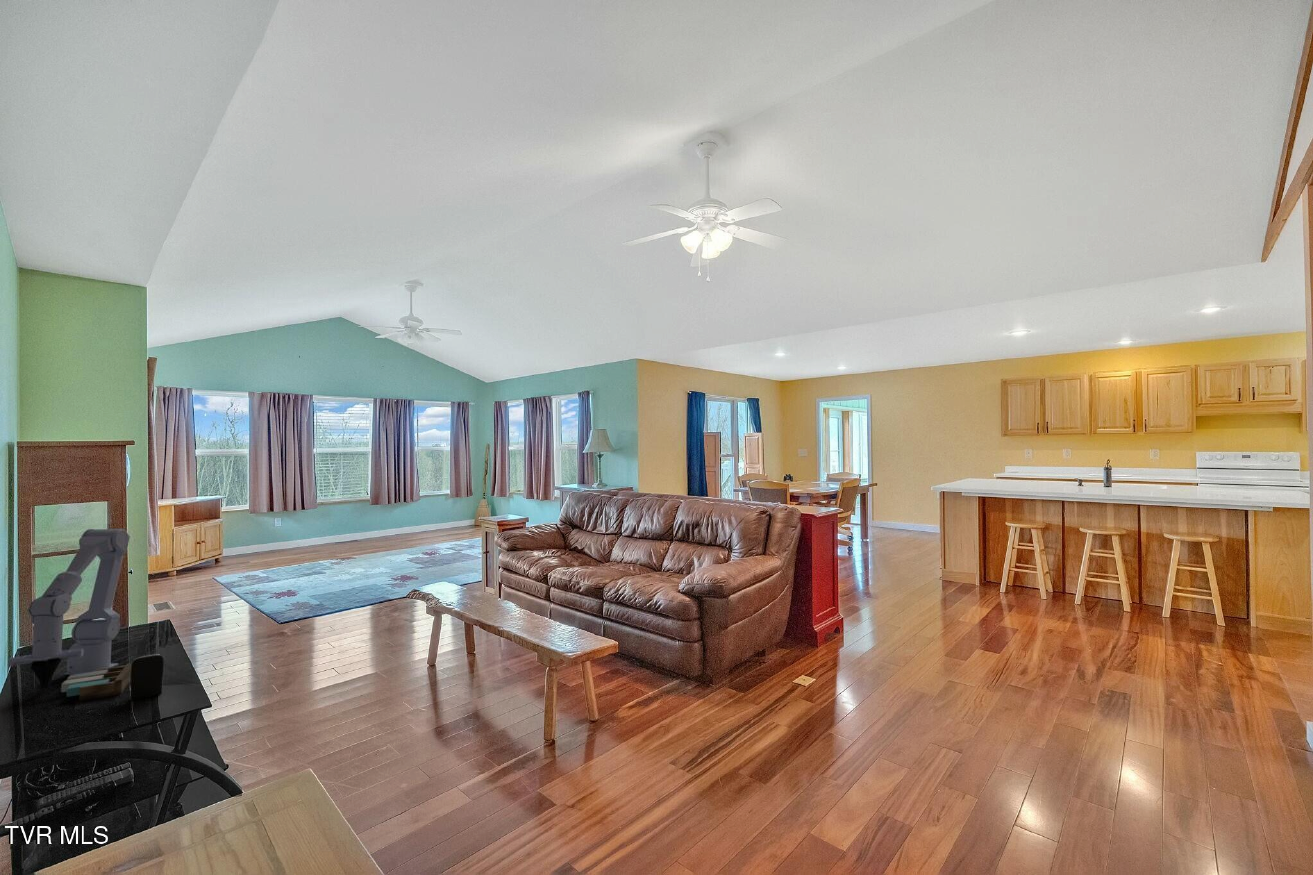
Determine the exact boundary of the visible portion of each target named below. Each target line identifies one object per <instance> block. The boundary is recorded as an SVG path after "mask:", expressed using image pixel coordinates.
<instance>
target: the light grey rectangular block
mask: <svg viewBox="0 0 1313 875" xmlns="http://www.w3.org/2000/svg"><path fill="white" fill-rule="evenodd" d="M102 673H108V670H101V671H94V672H88V673H81V674H69V676H68V677H67V679H66V680H73V679H80V678H86V677H90V676H91V675H96V674H102Z"/></svg>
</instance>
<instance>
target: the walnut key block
mask: <svg viewBox="0 0 1313 875" xmlns="http://www.w3.org/2000/svg"><path fill="white" fill-rule="evenodd" d="M131 663H132V662H128V663H126V664H125V665H117V666H114V667H110V668H104V669H97V670H95V671H101V670H108V673H102V674H96V675H91V676H90V677H93V676H99V675H104V678H102V679H95V680H89V681H85V683H86V682H93V681H99V680H106V679H110V682H108V683H101V684H95V685H89V686H82V687H80V695H78V696H79V698H78V699H79V701H86V700H93V699H98V698H104V697H110V696H116V695H121V694H122V693H124V691H125V689H126V687H127V686H128V685H129V683H130V671H131Z"/></svg>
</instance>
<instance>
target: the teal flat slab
mask: <svg viewBox="0 0 1313 875" xmlns="http://www.w3.org/2000/svg"><path fill="white" fill-rule="evenodd" d="M108 682H110V679H106V680H99V681H93V682H86V683H80V684H73V685H70V686H69V687H68V688H67V692H66V697H67V698H69V697H75V696H80V687H82V686H89V685H95V684H101V683H108Z"/></svg>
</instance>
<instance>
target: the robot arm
mask: <svg viewBox="0 0 1313 875" xmlns="http://www.w3.org/2000/svg"><path fill="white" fill-rule="evenodd" d="M130 538H131V536H130V535H129V533H128V531H127V530H126V529H125V528H107V529H105V528H102V529H101V528H100V529H99V528H98V529H97V528H95V529H94V528H88V529H85V531H84V532H83V533H82V535H81V537H80V538H79V540H78V544H79V549H78V550H77V552H76V553H75V555H74V557H73V559H72V561H71V562H70V564H69V565H68V567H67V569H66V570H65V571H63V572H61V573H58V574H57V575H56V576H55V578H54V579H53V580H52V582H51V583H50V585H49V586H48V587H47V589H46V590H45V591H44V593H43V594H42V595H41V596H39V597H37V598H35V599H33V600H32V601H31V602H30V604H29V607H28V608H27V615H29V617H30V623H31V624H32V625H33V631H32V632H33V633H32V650H31V651H32V652H31V654H27V655H21V656H14V657H11V658H9V659H8V662H7V667H8V668H9V667H15V666H19V665H28V664H31V666H30V669H31V670H32V672H33V673H34V674H35V676H36V678H37V680H38V682H39V686H40V689H44V688H45V689H46V688H49V687H50V686H51V682H52V679H53V676H54V674H55V672H56V670H57V668H58V667H59V665H60V663H61V662H62V660H65V659H67V662H66V663H67V664H66V671H65V672H64V673H63V675H74V674H81V673H88V672H94V671H95V670H97V669H104V668H110V667H117V666H119V663H117V662H115V663H111V659H112V656H111V655H112V640H114V639H115V637H116V636H117V635H118V634H119V632H120V628H121V623H120V618H121V614H119V613H118V612H116V611H115V610H114V609H113V605H114V604H113V603H114V600H115V594H116V591H117V586H118V583H119V582H118V581H119V578H120V574H121V570H122V565H123V560H124V556H126V554H127V551H128V547H129V543H130ZM97 557H98V558H99V565H98V569H97V572H96V573H97V574H96V578H95V580H94V581H95V582H94V586H93V590H92V594H91V597H90V602H89V606H88V609H87V610H86V611H85V612H83V613H81V614H80V615H78V617H77V620H76V622H75V624H74V626H73V627H72V629H71V638H72V639H73V641H75V643H74V644H72V645H71V646H70V647H69V649H62V648H63V632H64V631H63V630H64V628H63V627H64V615H65V614H66V613H67V612H68V611H69V610H70V608H71V602H72V599H73V597H72V596H73V594H74V593H75V592H76V590H77V589H78V587H79V586H80V585H81V582H82V581H83V578H82V576H81V575H82V574H83V573H84V571H85V570H86V569H87V568H89V565H90V564H91V563H92V562H93V561H94V559H95V558H97Z"/></svg>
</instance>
